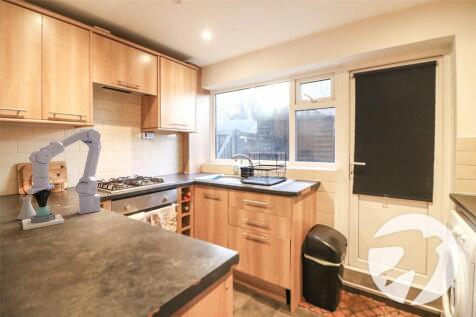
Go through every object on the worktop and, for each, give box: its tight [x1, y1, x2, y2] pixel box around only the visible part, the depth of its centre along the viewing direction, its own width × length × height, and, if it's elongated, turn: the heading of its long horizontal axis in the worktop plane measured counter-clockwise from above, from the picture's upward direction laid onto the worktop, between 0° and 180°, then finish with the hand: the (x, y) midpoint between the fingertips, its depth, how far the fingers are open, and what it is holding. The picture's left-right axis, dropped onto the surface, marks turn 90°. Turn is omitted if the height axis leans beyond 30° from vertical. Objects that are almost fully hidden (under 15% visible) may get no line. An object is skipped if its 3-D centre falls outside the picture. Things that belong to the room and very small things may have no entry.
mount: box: [22, 212, 65, 231], centre depth 111 cm, size 14×14×3 cm
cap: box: [35, 205, 51, 217], centre depth 111 cm, size 5×5×6 cm
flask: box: [16, 196, 36, 221], centre depth 118 cm, size 7×7×10 cm
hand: (42, 206), depth 110 cm, fingers closed
